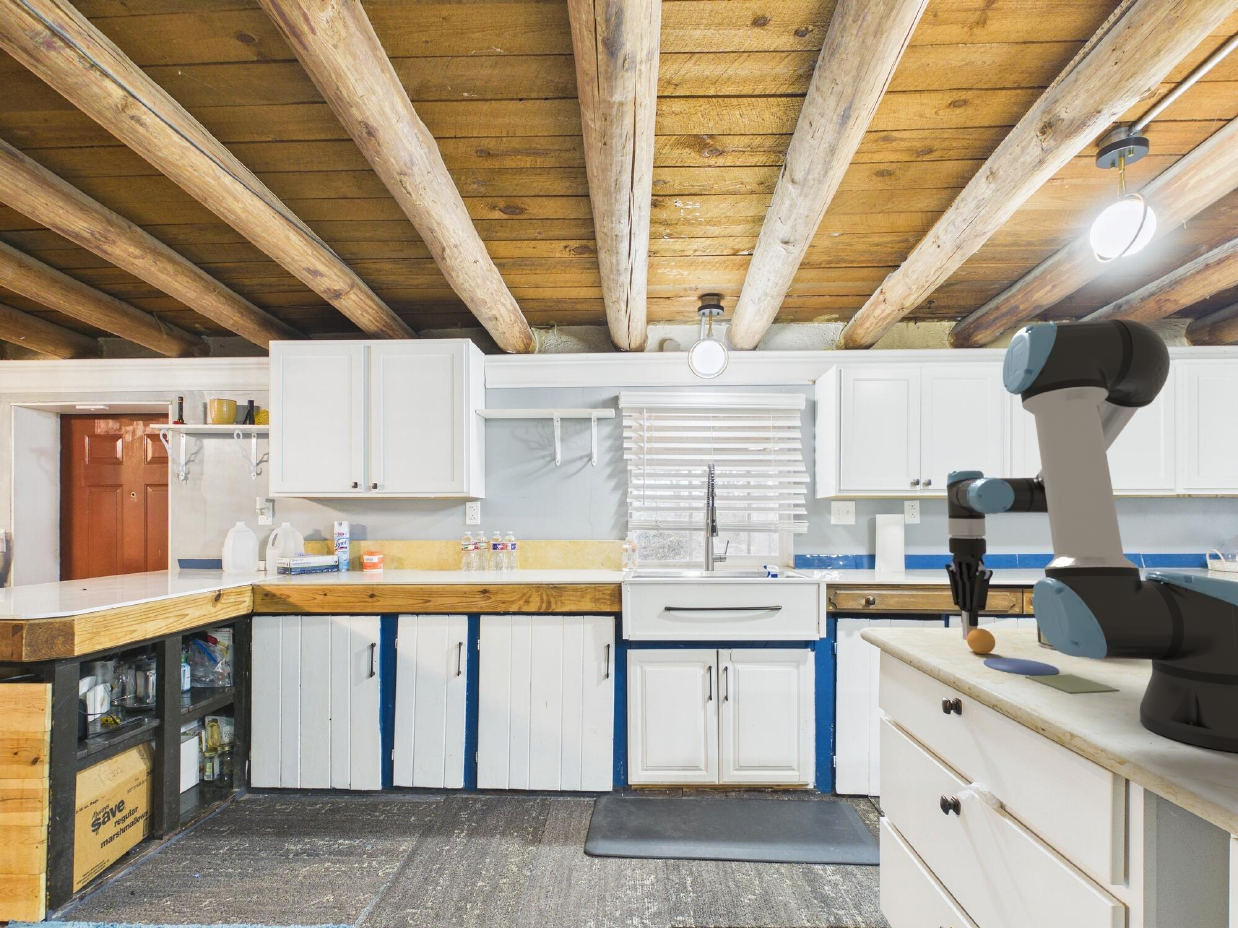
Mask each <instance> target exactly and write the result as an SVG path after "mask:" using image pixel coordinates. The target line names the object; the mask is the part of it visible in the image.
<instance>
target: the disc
mask: <svg viewBox="0 0 1238 928" xmlns="http://www.w3.org/2000/svg"><path fill="white" fill-rule="evenodd" d="M983 664H984V666H986V667H988V668H990V667H991V669H993V668H994V670H997V671H999V672H1004V671H1005V672H1006V673H1010V674H1016V675H1024V676H1044V675H1059V674H1060V670H1059V668H1057V667H1056V666H1054V665H1051V664H1048V663H1045V662H1039V661H1037V660H1032V659H1031V660H1030V659H1023V658H1016V657H1014V658H1013V657H991V658H986V659H984V660H983Z"/></svg>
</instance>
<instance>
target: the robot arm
mask: <svg viewBox="0 0 1238 928" xmlns="http://www.w3.org/2000/svg"><path fill="white" fill-rule="evenodd" d="M1170 360H1171V359H1170V354H1169V349H1168V347H1167V344H1166V342H1165V341H1164V340H1163V338H1162V337H1161V335H1160V334H1159V333H1158V332H1156V331H1155V330H1154V329H1153V328H1151V327H1150V326H1148V325H1146V324H1144V323H1142V322H1141V321H1136V320H1132V319H1125V318H1117V319H1116V318H1115V319H1107V320H1086V321H1083V320H1081V321H1079V320H1078V321H1064V322H1063V321H1061V322H1057V321H1056V322H1055V321H1048V322H1045V323H1034V324H1028V325H1026V326H1024V327H1022V328H1021V329H1019V330H1018V331H1017V332H1016V333H1015V334H1014V336H1013V337H1012V339H1011V341H1010V343H1009V345H1008V347H1007V350H1006V352H1005V355H1004V359H1003V366H1002V381H1003V386H1004V387H1005V389H1006V391H1007V392H1008V393H1009V394H1013V395H1014V396H1017V395H1020V398H1021V404H1022V408H1023V410H1025V411H1026V412H1029V413H1030V414H1032V415H1033V416H1034V421H1035V429H1036V434H1037V435H1036V436H1037V442H1038V449H1039V456H1040V457H1039V458H1040V464H1041V469H1040V470H1039V472H1038V473H1037V474H1036V476H1035V477H985V475H984V472H982V471H981V470H952V471H949V472H948V474H947V476H946V477H947V479H946V489H947V490H946V493H947V514H948V515H947V516H948V517H947V518H948V521H947V524H948V526H947V527H948V530H947V531H948V535H949V536H951V537H949V538H948V550H949V553H950V554H952V555H953V557H952V559H951V560H952V562H950V563H945V566H944V567H945V570H946V572H947V574H948V580H949V587H950V590H951V596H952V597H951V598H952V601H953V605H954V606H957V607H958V608H959V610H960V616H961V617H960V618H961V619H960V622H961V624H962V627H961V628H962V639H963V640H965V641H967V636H968V634H969V633H970V632H971V631H972V630H974V629H978V626H979V612H981V611H986V608H987V607H986V606H987V601H988V595H989V588H990V582H991V578H992V576H993V575H994V572H993V570H992V569H988V568H986V566H985V561H984V559H983V558H984V557H983V556H984V555H986V554H987V539H986V538H985V536H986V515H990V514H991V515H996V514H1024V513H1025V514H1026V513H1030V514H1031V513H1032V514H1033V513H1034V514H1036V513H1037V514H1040V513H1041V514H1048V520H1049V527H1050V534H1051V541H1052V548H1053V559H1052V560H1050V562H1049V563H1048V564H1047V565H1046V566H1045V567H1044V574H1045V577H1043V578H1042V579H1039V580H1038V581H1037V582H1035V583H1034V586H1033V588H1032V592H1033V594H1031V605H1032V610H1033V611H1032V612H1033V614H1034V618H1035V620H1036V624H1037V623H1038V626H1039V628H1040V630H1041V632H1042V633H1043V635H1044V637H1045V638H1046V639H1047V640H1048V642H1049V643H1050V644H1051V645H1052V646H1053V647H1054V648H1055V649H1057V650H1056V651H1058V652H1060V653H1061V654H1063V655H1066V656H1069V657H1077V658H1089V659H1091V660H1093V659H1094V660H1102V659H1109V660H1110V659H1112V660H1114V659H1116V660H1145V661H1146V660H1147V661H1148V660H1149V661H1150V660H1151V676H1150V679H1149V681H1148V684H1147V687H1146V689H1145V692H1144V695H1143V698H1142V700H1141V703H1140V706H1139V721H1140V724H1141V725H1142V726H1143V727H1145V728H1146V729H1148V730H1150V731H1151V732H1153V733H1156V734H1158V735H1161V736H1164V737H1165V738H1169V739H1173V740H1176V741H1178V742H1183V743H1186V744H1190V745H1193V746H1198V747H1199V746H1200V747H1203V748H1208V749H1214V750H1219V751H1226V752H1233V753H1238V581H1236V580H1235V581H1234V580H1230V579H1222V578H1215V577H1208V576H1207V577H1206V576H1201V575H1194V574H1193V575H1192V574H1187V573H1178V572H1171V571H1163V570H1155V569H1150V570H1147V572H1146V575H1145V576H1144V579H1143V580H1141V579H1142V578H1141V573H1140V568H1139V566H1138V565H1137V564H1136V563H1135V562H1133V561H1131V560H1130V559H1129V558H1127V557H1126V556H1125V555H1124V551H1123V544H1122V538H1121V533H1120V527H1119V521H1118V520H1119V519H1118V516H1117V515H1118V514H1117V510H1116V509H1117V508H1116V502H1115V497H1114V491H1113V484H1112V478H1111V473H1110V466H1109V461H1108V454H1107V451H1108V450H1109V449H1110V448H1111V446H1112V445H1113V443H1115V441H1116V439H1117V438H1118V437H1119V435H1120V434H1121V433H1122V431H1123V430H1124V429H1125V428H1126V426H1127V424H1128V423H1129V422H1130V421H1131V419H1132V418H1133V417H1134V415H1135V414H1136V413H1137V411H1138V410H1139V409H1141V408H1145V407H1147V406H1150V405H1151V404H1152V402H1153V401H1154V400H1155V399H1156V397H1157V396H1158V395H1159V393H1160V392H1161V391H1162V389H1163V387H1164V386H1165V383H1166V381H1167V379H1168V375H1169V374H1170V366H1171V365H1170V364H1171V361H1170Z"/></svg>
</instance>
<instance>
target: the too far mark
mask: <svg viewBox="0 0 1238 928" xmlns="http://www.w3.org/2000/svg"><path fill="white" fill-rule="evenodd" d="M1024 676H1025V678H1026V679H1028V680H1031V681H1034V682H1037V683H1040V684H1043V685H1045V686H1048V687H1051V688H1054V689H1056V690H1060V691H1062V692H1065V693H1067V694H1082V693H1083V694H1087V693H1103V692H1120V691H1121V690H1120V688H1115V687H1112V686H1110V685H1107V684H1102V683H1099V682H1096V681H1095V680H1090V679H1087V678H1085V677H1081V676H1079V675H1075V674H1072V673H1069V674H1055V675H1044V676H1034V675H1024Z"/></svg>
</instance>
